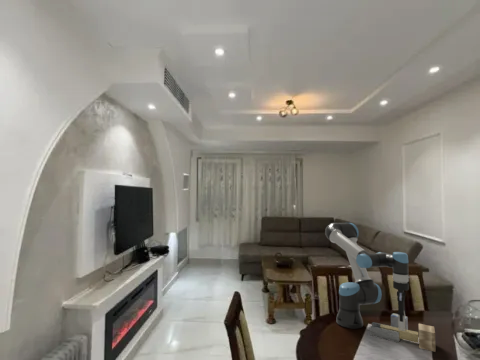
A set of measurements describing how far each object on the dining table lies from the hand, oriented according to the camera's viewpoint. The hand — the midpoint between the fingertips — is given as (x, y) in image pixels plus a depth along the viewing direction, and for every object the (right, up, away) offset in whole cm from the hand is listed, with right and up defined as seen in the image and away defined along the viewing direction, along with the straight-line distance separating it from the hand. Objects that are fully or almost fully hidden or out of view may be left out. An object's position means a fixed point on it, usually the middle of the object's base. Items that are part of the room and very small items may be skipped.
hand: (401, 325), depth 157 cm
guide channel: (-7, -8, +4) cm, 11 cm away
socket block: (+9, -7, -6) cm, 14 cm away
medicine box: (+5, -9, +11) cm, 14 cm away
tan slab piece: (-1, -6, 0) cm, 6 cm away
